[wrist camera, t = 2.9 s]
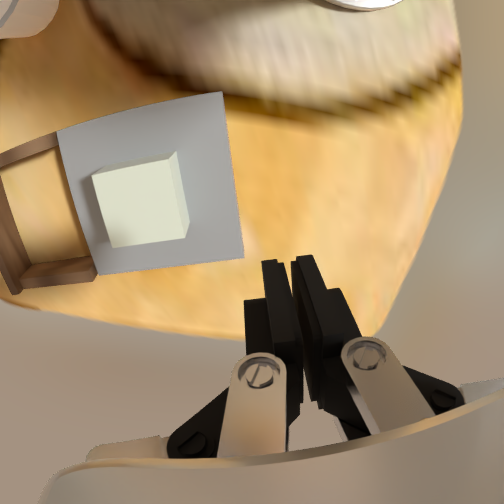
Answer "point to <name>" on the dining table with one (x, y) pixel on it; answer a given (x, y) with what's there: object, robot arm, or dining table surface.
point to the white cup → (25, 17)
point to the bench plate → (191, 169)
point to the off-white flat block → (142, 200)
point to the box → (12, 249)
